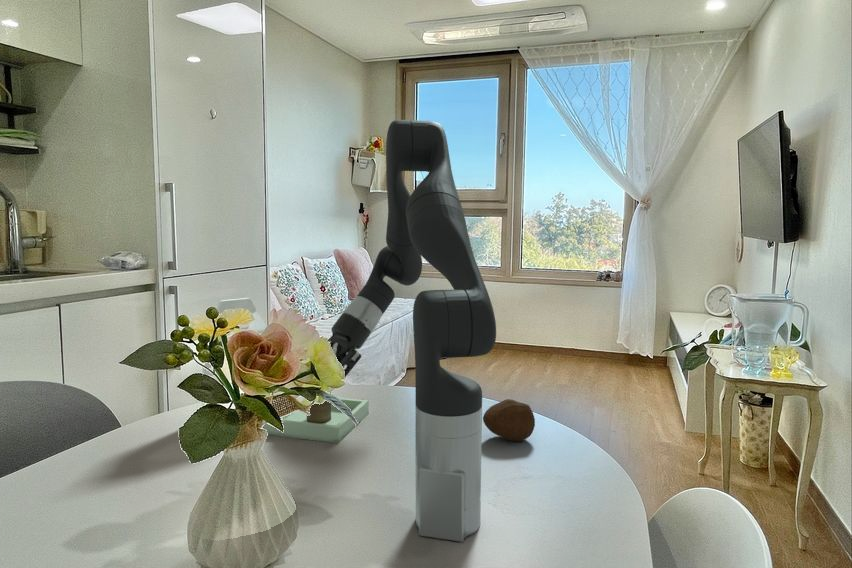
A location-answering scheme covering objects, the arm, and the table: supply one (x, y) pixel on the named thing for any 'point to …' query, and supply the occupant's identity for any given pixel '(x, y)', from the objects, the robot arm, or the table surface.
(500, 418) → the potato
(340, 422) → the bin
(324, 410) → the pepper mill
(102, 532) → the table surface
